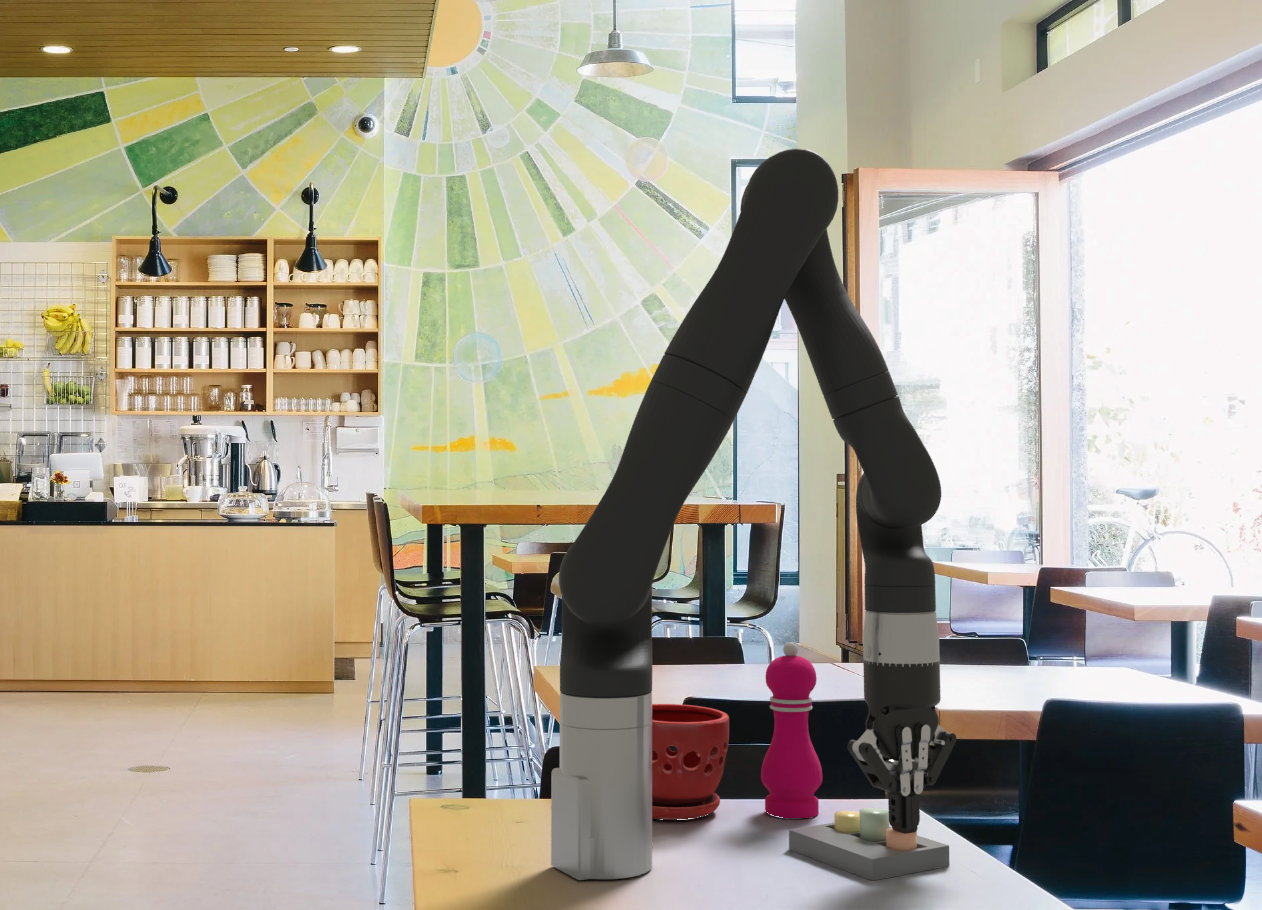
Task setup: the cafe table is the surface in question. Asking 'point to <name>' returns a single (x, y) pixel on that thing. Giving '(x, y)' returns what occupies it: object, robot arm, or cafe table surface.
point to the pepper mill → (791, 739)
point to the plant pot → (687, 760)
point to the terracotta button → (901, 840)
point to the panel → (866, 852)
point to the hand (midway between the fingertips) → (904, 830)
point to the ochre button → (847, 821)
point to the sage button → (873, 824)
